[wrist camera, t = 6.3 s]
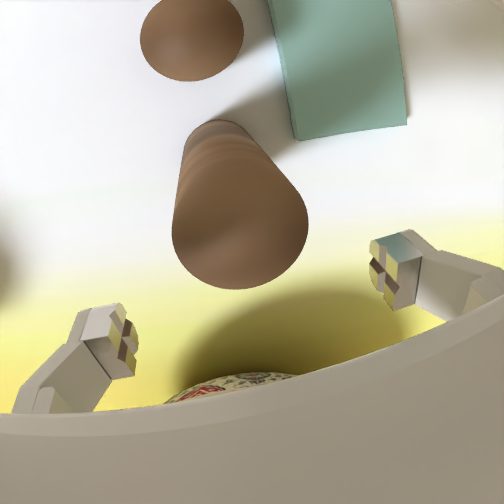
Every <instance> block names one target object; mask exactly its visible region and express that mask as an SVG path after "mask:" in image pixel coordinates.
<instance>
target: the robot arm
mask: <svg viewBox="0 0 504 504" xmlns="http://www.w3.org/2000/svg"><path fill="white" fill-rule="evenodd" d="M370 253H371V254H372V256H373V258H372V260H371V262H370V263H369V273H370V277H371V281H372V283H373V285H374V286H375V288H376V289H377V290H378V291H381V292H383V293H384V300H385V301H386V302H387V304H388V305H389V306H390V308H391V309H392V310H393V311H395V310H398V309H401V308H404V307H407V306H410V305H413V304H415V305H416V306H418V307H420V308H422V309H424V310H426V311H428V312H430V313H432V314H433V315H435V316H437V317H439V318H441V319H443V320H445V321H447V322H446V323H444V324H442V325H439V326H437V327H435V328H433V329H430V330H428V331H426V332H423V333H421V334H419V335H416V336H414V337H411V338H409V339H406V340H404V341H401V342H399V343H396V344H393V345H391V346H388V347H385V348H383V349H380V350H377V351H374V352H372V353H369V354H366V355H363V356H360V357H357V358H354V359H351V360H348V361H345V362H342V363H339V364H336V365H333V366H329V367H326V368H323V369H319V370H316V371H313V372H309V373H306V374H302V375H299V376H295V377H292V378H288V379H284V380H280V381H277V382H273V383H269V384H265V385H260V386H256V387H252V388H248V389H243V390H239V391H234V392H230V393H225V394H220V395H215V396H210V397H204V398H199V399H193V400H187V401H181V402H175V403H168V404H162V405H154V406H147V407H139V408H130V409H120V410H110V411H97V412H92V411H93V410H94V408H95V407H96V405H97V403H98V402H99V400H100V399H101V397H102V396H103V394H104V393H105V391H106V390H107V388H108V387H109V385H110V384H111V382H112V380H115V379H120V378H126V377H132V376H135V368H136V361H137V360H136V359H135V357H134V356H133V355H134V354H135V353H136V352H137V351H138V344H139V342H138V335H137V332H136V329H135V327H134V325H133V323H132V322H130V321H129V320H127V319H125V318H126V313H127V312H126V310H125V309H124V307H123V305H122V304H120V303H114V304H110V305H105V306H100V307H95V308H90V309H85V310H81V311H79V312H78V314H77V317H76V319H75V322H74V324H73V327H72V330H71V332H70V335H69V338H68V340H67V343H66V344H63V345H62V346H61V347H60V348H59V349H58V350H57V351H56V352H55V353H54V354H53V355H52V356H51V357H50V358H49V359H48V360H47V361H46V362H45V363H44V364H43V365H42V366H41V367H40V368H39V369H38V370H37V371H36V372H35V373H34V374H33V375H32V376H31V377H30V378H29V379H28V380H27V381H26V382H25V383H24V384H23V385H22V386H21V387H20V389H19V392H18V395H17V398H16V401H15V404H14V407H13V410H12V413H11V414H10V413H0V504H504V270H502V269H501V268H500V267H496V266H493V265H490V264H487V263H483V262H480V261H477V260H473V259H470V258H467V257H463V256H460V255H457V254H453V253H450V252H446V251H443V250H441V251H437V250H436V249H435V248H434V247H433V246H431V245H430V244H429V243H428V242H427V241H426V240H424V239H423V238H422V237H421V236H420V235H418V234H417V233H416V232H415V231H414V230H411V229H408V230H405V231H402V232H398V233H396V234H393V235H389V236H386V237H382V238H379V239H375V240H372V241H371V243H370Z"/></svg>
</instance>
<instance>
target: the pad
mask: <svg viewBox="0 0 504 504" xmlns="http://www.w3.org/2000/svg"><path fill="white" fill-rule="evenodd" d="M267 1H268V6H269V10H270V14H271V19H272V23H273V28H274V32H275V37H276V42H277V47H278V51H279V56H280V61H281V66H282V71H283V77H284V82H285V87H286V93H287V98H288V104H289V109H290V115H291V121H292V127H293V133H294V138H295V139H297V140H298V141H304V140H309V139H315V138H320V137H326V136H332V135H338V134H344V133H351V132H357V131H364V130H371V129H379V128H386V127H395V126H403V125H407V115H406V102H405V91H404V81H403V72H402V64H401V56H400V49H399V43H398V37H397V31H396V25H395V20H394V15H393V10H392V5H391V0H267Z"/></svg>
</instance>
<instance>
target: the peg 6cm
mask: <svg viewBox="0 0 504 504" xmlns="http://www.w3.org/2000/svg"><path fill="white" fill-rule="evenodd" d="M243 36H244V29H243V23H242V20H241V17H240V15H239V13H238V11H237V10H236V9H235V7H234V6H233V5H232V4H231V3H230V2H229V1H228V0H162V1H160V2H159V3H158V4H156V5H155V6H154V7H153V8H152V10H151V11H150V12H149V13H148V15H147V17H146V18H145V20H144V23H143V25H142V29H141V34H140V44H141V49H142V52H143V55H144V57H145V59H146V60H147V62H148V63H149V65H150V66H151V67H152V68H153V69H154V70H156V71H157V72H158V73H160V74H162V75H163V76H165V77H168V78H170V79H174V80H178V81H199V80H203V79H206V78H209V77H212V76H214V75H216V74H218V73H220V72H221V71H223V70H224V69H225V68H226V67H228V66H229V65H230V64H231V63H232V61H233V60H234V59H235V57H236V56H237V54H238V53H239V50H240V48H241V45H242V42H243Z"/></svg>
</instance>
